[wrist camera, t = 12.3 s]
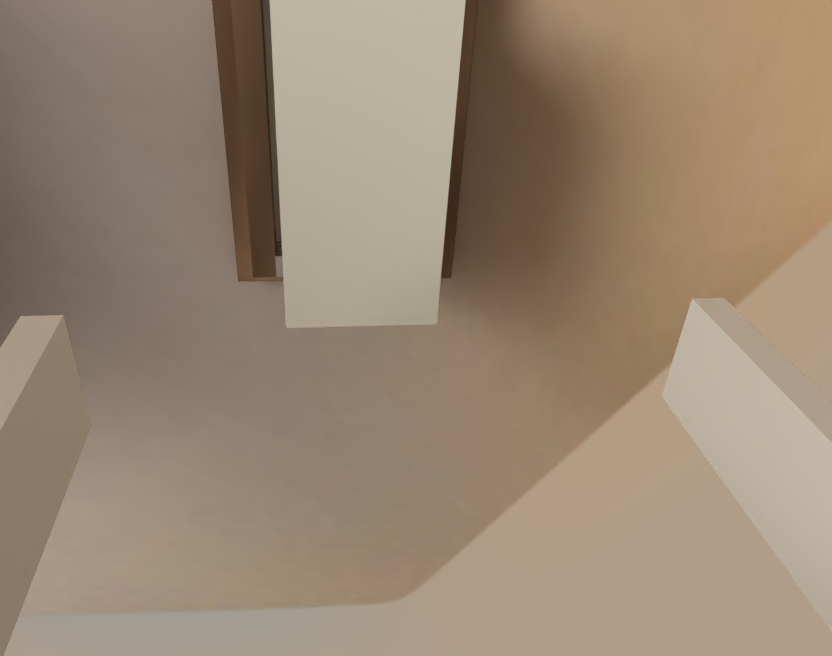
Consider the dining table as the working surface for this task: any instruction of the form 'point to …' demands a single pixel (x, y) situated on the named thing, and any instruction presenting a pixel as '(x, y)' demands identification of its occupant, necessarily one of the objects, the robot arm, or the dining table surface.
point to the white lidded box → (364, 155)
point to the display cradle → (256, 135)
